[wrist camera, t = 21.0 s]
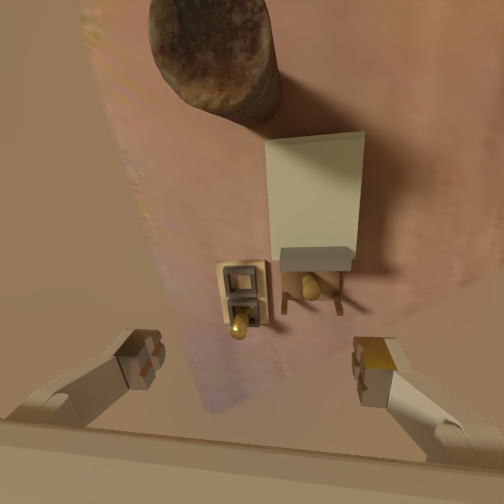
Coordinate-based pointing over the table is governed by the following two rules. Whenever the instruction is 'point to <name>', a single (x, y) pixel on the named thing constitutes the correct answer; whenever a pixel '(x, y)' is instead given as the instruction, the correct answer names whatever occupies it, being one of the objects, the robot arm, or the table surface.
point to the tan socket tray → (243, 289)
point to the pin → (241, 322)
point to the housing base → (324, 285)
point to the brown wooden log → (218, 56)
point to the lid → (314, 200)
